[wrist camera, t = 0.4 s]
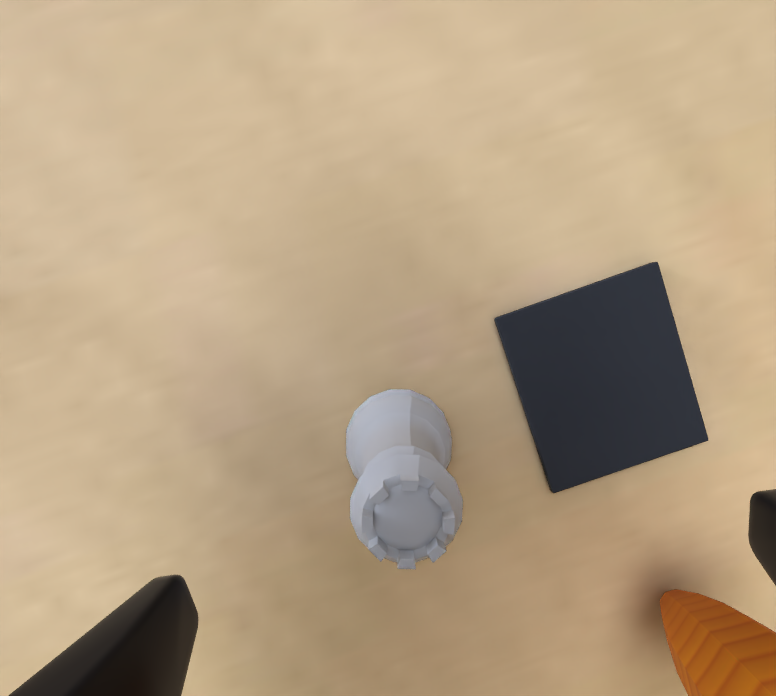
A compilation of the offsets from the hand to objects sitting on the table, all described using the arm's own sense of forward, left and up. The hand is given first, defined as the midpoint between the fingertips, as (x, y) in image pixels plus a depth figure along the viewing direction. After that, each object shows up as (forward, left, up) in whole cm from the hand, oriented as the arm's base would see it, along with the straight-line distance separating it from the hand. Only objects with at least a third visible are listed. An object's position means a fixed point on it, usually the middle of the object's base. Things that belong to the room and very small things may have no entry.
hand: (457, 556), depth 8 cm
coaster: (-2, -8, -13) cm, 15 cm away
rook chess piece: (-2, +1, -13) cm, 14 cm away
